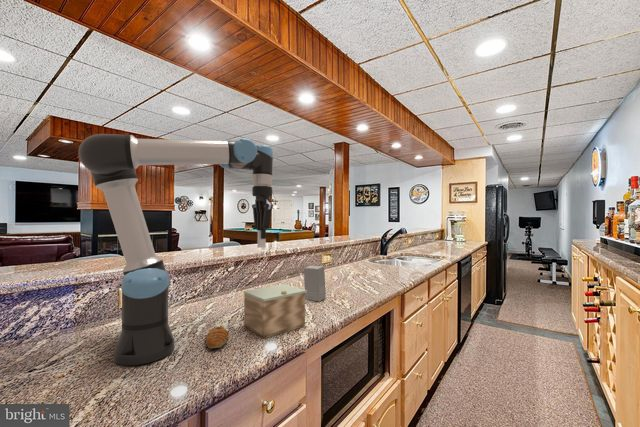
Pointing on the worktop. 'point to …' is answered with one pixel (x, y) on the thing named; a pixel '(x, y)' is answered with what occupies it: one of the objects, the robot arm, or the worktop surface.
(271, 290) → the lid
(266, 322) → the box
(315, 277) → the skincare box
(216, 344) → the pastry
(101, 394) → the worktop surface
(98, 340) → the worktop surface
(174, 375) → the worktop surface
